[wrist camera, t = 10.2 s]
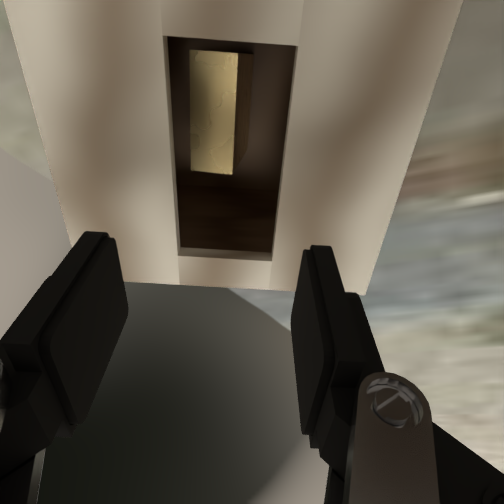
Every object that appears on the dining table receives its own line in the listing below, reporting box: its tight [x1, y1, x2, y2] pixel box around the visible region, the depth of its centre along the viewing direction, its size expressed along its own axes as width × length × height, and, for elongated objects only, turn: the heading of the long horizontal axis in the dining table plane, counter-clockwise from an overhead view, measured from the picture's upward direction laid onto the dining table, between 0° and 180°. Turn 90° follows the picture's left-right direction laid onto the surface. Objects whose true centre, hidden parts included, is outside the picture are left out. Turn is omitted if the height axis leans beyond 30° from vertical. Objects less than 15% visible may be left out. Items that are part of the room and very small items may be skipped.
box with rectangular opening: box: [3, 0, 463, 295], centre depth 21 cm, size 16×14×12 cm
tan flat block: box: [189, 49, 254, 175], centre depth 22 cm, size 2×6×6 cm, turn 177°
